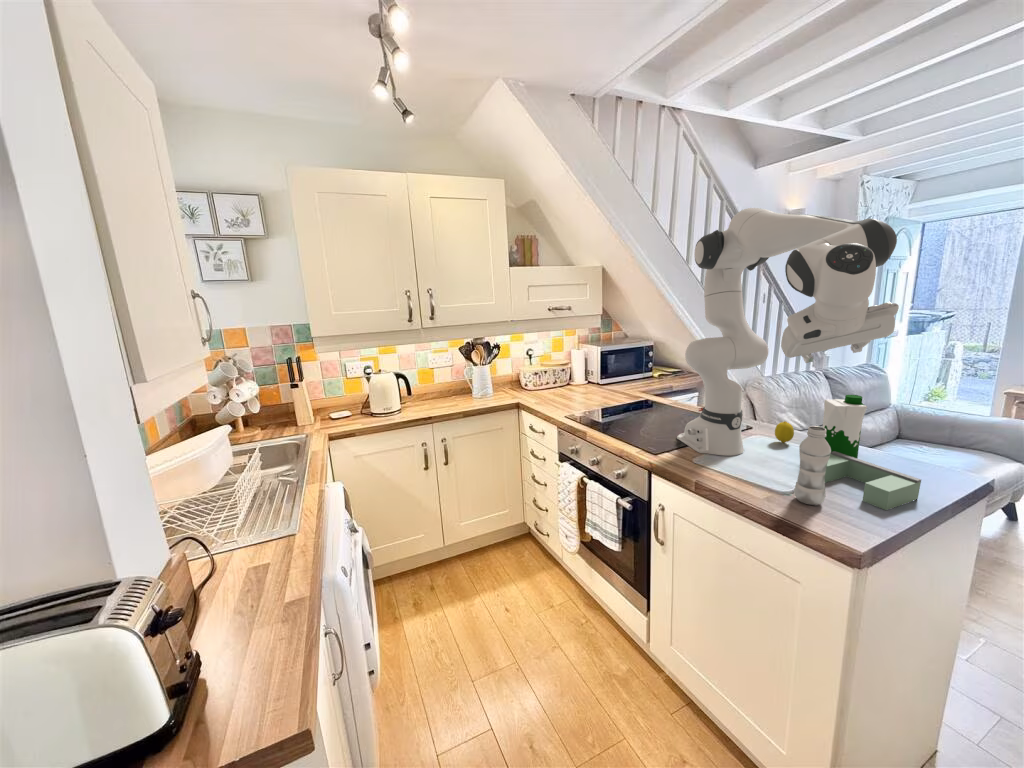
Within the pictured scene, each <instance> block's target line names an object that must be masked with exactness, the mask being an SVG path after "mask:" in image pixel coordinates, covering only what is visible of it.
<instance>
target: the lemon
mask: <svg viewBox="0 0 1024 768" xmlns="http://www.w3.org/2000/svg"><path fill="white" fill-rule="evenodd" d="M794 434H795V429H794V427H793V425H792V424H791V423H789V422H787V421H785V420H784V421H781V422H779V423H777V424H776V426H775V428H774V437H775V438H776V439H777V440H778V441H779V442H781V443H782V444H785V443H788V442H791V440H792V439H793V438H794V436H795V435H794Z"/></svg>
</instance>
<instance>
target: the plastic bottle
mask: <svg viewBox="0 0 1024 768" xmlns="http://www.w3.org/2000/svg"><path fill="white" fill-rule="evenodd" d="M806 435H807V437H805V438H804V439H803V440H802V441H801V442H800V444H799V471H798V475H797V480H796V483H795V485H794V489H793V490H794V492H793V493H794V496H795V498H796V499H797V500H798V501H799V502H800V503H802V504H806V505H811V506H819V505H821V504H822V503H824V501H825V499H826V497H827V496H826V494H827V493H826V483H825V472H826V467H827V463H828V460H829V457H830V454H831V448H830V446H829V444H828V442H827V441H826V440H825V437H826V429H825V428H823V427H822V426H819V425H817V426H816V425H811V426H808V427H807V432H806Z"/></svg>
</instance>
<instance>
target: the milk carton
mask: <svg viewBox="0 0 1024 768" xmlns="http://www.w3.org/2000/svg"><path fill="white" fill-rule="evenodd" d="M844 397H845V398H844V399H839V398H834V399H824V401H823V402H824V408H823V419H822V425H821V427H823V428H825V429H826V437H825V440H826V441H827V442H828V444H829V446H830V448H831V452H833V451H835V452H839V453H842V454H845V455H848V456H851V457H854V458H857V459H859V458H858V457H859V449H860V447H859V446H860V441H861V433H862V426H863V420H864V417H865V414H866V412H867V408H868V406H867V405H865V404H863V396H861V395H857V394H845V396H844Z"/></svg>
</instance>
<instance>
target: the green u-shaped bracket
mask: <svg viewBox="0 0 1024 768" xmlns="http://www.w3.org/2000/svg"><path fill="white" fill-rule="evenodd" d="M847 477H848V478H850V479H853V480H856V481H859V482H861V483H863V484H864V488H863V489H864V490H863V494H862V502H865V503H867V504H869V505H872V506H874V507H877V508H879V509H882V510H885V511H888V509H889V510H892V509H894V507H895V508H897V506H898V507H900V505H901V506H903V505H902V504H904V505H906V504H905V503H907V504H909V503H908V502H910V503H912V502H911V501H913V500H916V499H918V500H919V494H920V489H921V488H920V487H921V483H922V479H921V478H919V477H915V476H911V475H908V474H906V473H902V472H900V471H897V470H894V469H891V468H887V467H884V466H881V465H878V464H875V463H872V462H868V461H865V460H864V459H859V458H854V457H851V456H848V455H845V454H842V453H839V452H835V451H833V452H831V454H830V457H829V460H828V463H827V467H826V472H825V484H826V483H830V482H832V481H833V482H834V481H835V480H836V481H837V480H841V479H843V478H847ZM916 501H917V500H916ZM913 502H914V501H913ZM891 508H892V509H891Z"/></svg>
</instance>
